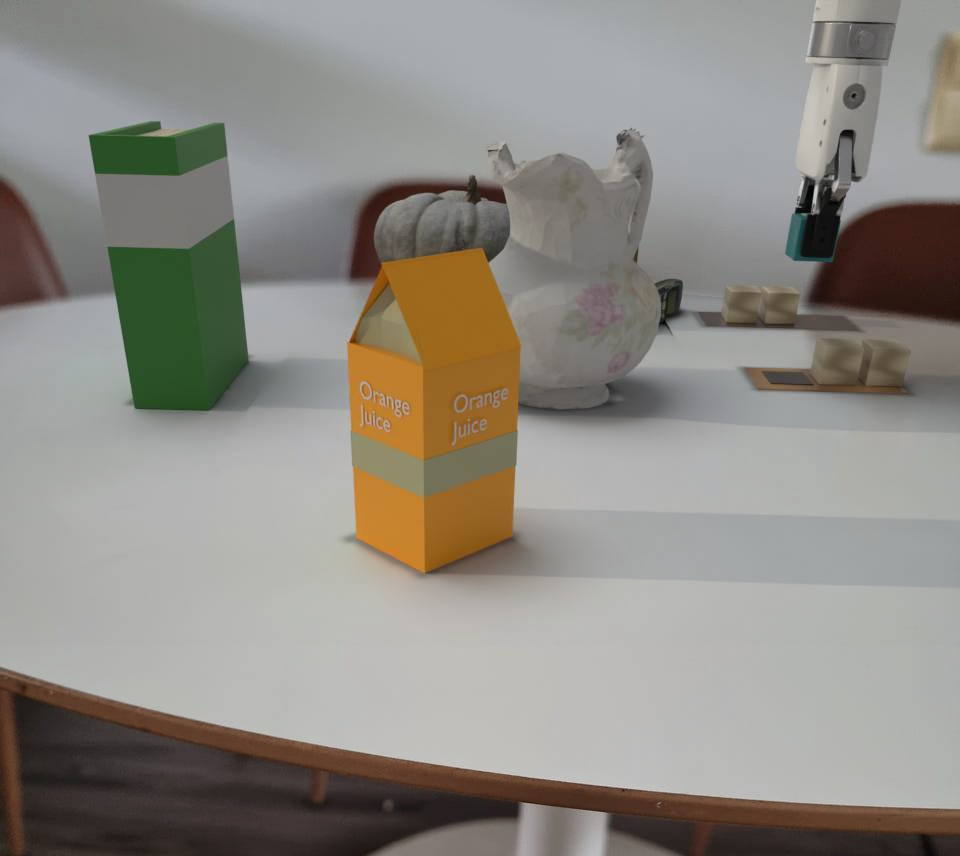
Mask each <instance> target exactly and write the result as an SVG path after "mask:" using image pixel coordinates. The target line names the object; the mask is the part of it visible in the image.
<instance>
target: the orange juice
mask: <svg viewBox="0 0 960 856" xmlns="http://www.w3.org/2000/svg"><path fill="white" fill-rule="evenodd" d="M381 264H382V266H381V268H380V270H379V272H378V275H377V277H376V279H375V281H374V284H373V286H372V288H371V291H370V292H369V294H368V297H367V300H366V301H365V305H364V306H363V309H362V311H361V313H360V315H359V317H358V320H357V323H356V325H355V326H354V329H353V332H352V334H351V336H350V338H349V341H347V342H346V349H347V351H346V352H347V370H348V371H347V372H348V373H347V374H348V390H349V392H348V393H349V413H350V414H349V415H350V432H349V433H350V449H351V450H350V451H351V466H352V476H353V495H354V496H353V497H354V514H355V515H354V516H355V537H356V539H358V540H359V541H361V542H363V543H366V544H367V545H369V546H371V547H373V548H375V549H377V550H378V551H381V552H382V553H385V554H387V555H389V556H390V557H392V558H395V559H396V560H398V561H400V562H402V563H404V564H406V565H408V566H410V567H412V568H414V569H415V570H418V571H420V572H422V573H423V574H426V573H430V572H431V571H434V570H435V569H438V568H441V567H443V566H445V565H448V564H451V563H452V562H455V561H457V560H460V559H462V558H465V557H467V556H469V555H472V554H475V553H476V552H479V551H481V550H483V549H486V548H489V547H491V546H493V545H496V544H498V543H501V542H503V541H506V540H509V539H510V538H512V537H513V535H514V534H513V533H514V532H513V531H514V510H515V509H514V508H515V489H516V488H515V485H516V467H517V461H518V460H517V457H518V438H519V437H518V436H519V435H518V434H519V431H518V419H519V418H518V416H519V403H518V397H519V375H520V352H521V347H522V346H521V343H520V341H519V338H518V336H517V333H516V331H515V328H514V326H513V323H512V321H511V318H510V316H509V313H508V311H507V308H506V306H505V303H504V301H503V298H502V296H501V293H500V291H499V288H498V286H497V283H496V281H495V278H494V276H493V273H492V271H491V268H490V266H489V263H488V261H487V258H486V256H485V253H484V251H483V248H477V249H470V250H463V251H457V252H450V253H444V254H437V255H430V256H424V257H417V258H410V259H404V260H397V261H390V262H384V263H380V265H381Z"/></svg>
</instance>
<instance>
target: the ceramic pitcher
mask: <svg viewBox="0 0 960 856" xmlns="http://www.w3.org/2000/svg"><path fill="white" fill-rule="evenodd" d="M636 130H637V128H632V127H630V128H629V129H623V130H620V131H619V132H618V134H616V138H615V139H616V148H615V151H614V153H613V156H612V159H611V160H610V161H609V162H608V164H607V165H606V166H605V167H604V168H592V166H590V165H589V164H588V162H587V161H585V160H584V159H581V158H578V157H576V156H574V155H571V154H568V153H566V152H564V151H560V152H557V153H553V154H549V155H547V156H545V157H543V158H541V159H537V160H536V159H535V160H527V161H526V160H521V161H519V162H514V159H513V156H512V153H511V151H510V149H509V146H508V143H507V140H497V141H494V142H492V144H491V145H490V144H489V145H485V146H484V147H485V150H486V151H487V166H488V169H489V173H490V175H491V178H492V179H493V180H494V181H495V182H496V183H497V184H498V185H500V186H502V190H503V193H504V197H505V198H504V199H505V201H506V202H505V203H506V204H507V206H508V210H509V213H510V236H509V238H508V241H507V243H506V245H505V247H504V249H503V250H502V251H501V252H500V253H499V254H498V255H497V256H496V257H495V258H494V259H493V260H491V261H490V262H489V266H490V268H491V271H492V273H493V276H494V278H495V281H496V283H497V286H498V288H499V291H500V293H501V296H502V298H503V301H504V303H505V306H506V308H507V311H508V313H509V316H510V318H511V321H512V323H513V326H514V328H515V331H516V333H517V336H518V338H519V341H520V343H521V346H522V347H521V352H520V375H519V397H518V404H521V405H525V406H529V407H533V408H541V409H549V410H584V409H591V408H593V407H598V406H601V405H604V404H605V403H606V402H608V401H609V397H610V390H609V388H608V386H607V384H610V383H613V382H616V381H618V380H621V379H622V378H624V377H626V376H627V375H628V374H630V373H631V372H632V371H633V370H634V369H635V368H637V367H638V366H639V364H640V363H641V362H642V361H643V359H644V358H645V357H646V355H647V354H648V352H649V351H650V350H651V348H652V345H653V344H654V341H655V339H656V337H657V334H658V331H659V326H660V323H659V321H660V316H661V301H660V297H659V293H658V290H657V288H656V286H655V282H654V280H653V278H652V277H651V276H650V275H649V274H648V272H646V270H644V269H643V268H641V266H639V264H638V262H637V263H636V262H635V261H634V260H633V259H634V255H635V253H636V251H637V248H638V246H640V245H641V244H640V243H641V241H642V239H643V233H644V229H645V228H644V227H645V224H646V219H647V216H648V211H649V207H650V202H651V198H652V189H653V180H654V171H653V166H652V160H651V157H650V155H649V152H648V149H647V146H646V145H645V142H644V141H643V138H644V137H645V136H646V135H644V134H643V135H641V133H640V131H636ZM638 249H639V248H638Z"/></svg>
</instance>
